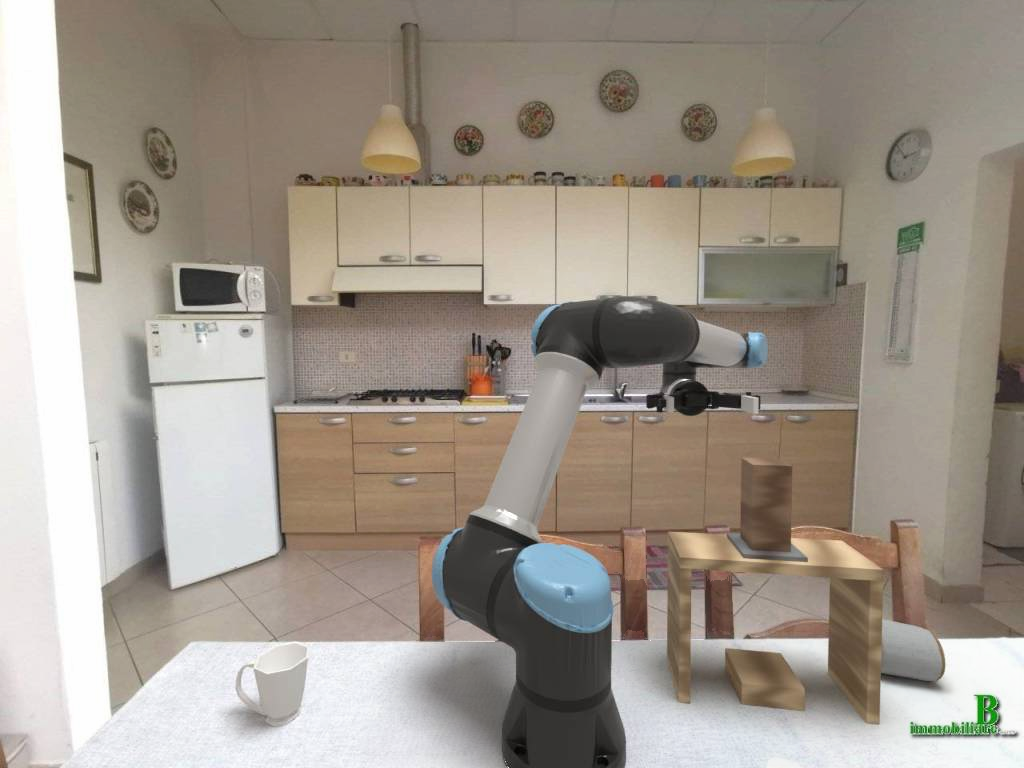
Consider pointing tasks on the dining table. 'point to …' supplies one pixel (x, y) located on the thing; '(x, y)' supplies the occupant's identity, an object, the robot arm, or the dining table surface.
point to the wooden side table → (769, 672)
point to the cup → (278, 682)
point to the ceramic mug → (911, 652)
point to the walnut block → (766, 504)
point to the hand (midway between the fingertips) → (713, 405)
